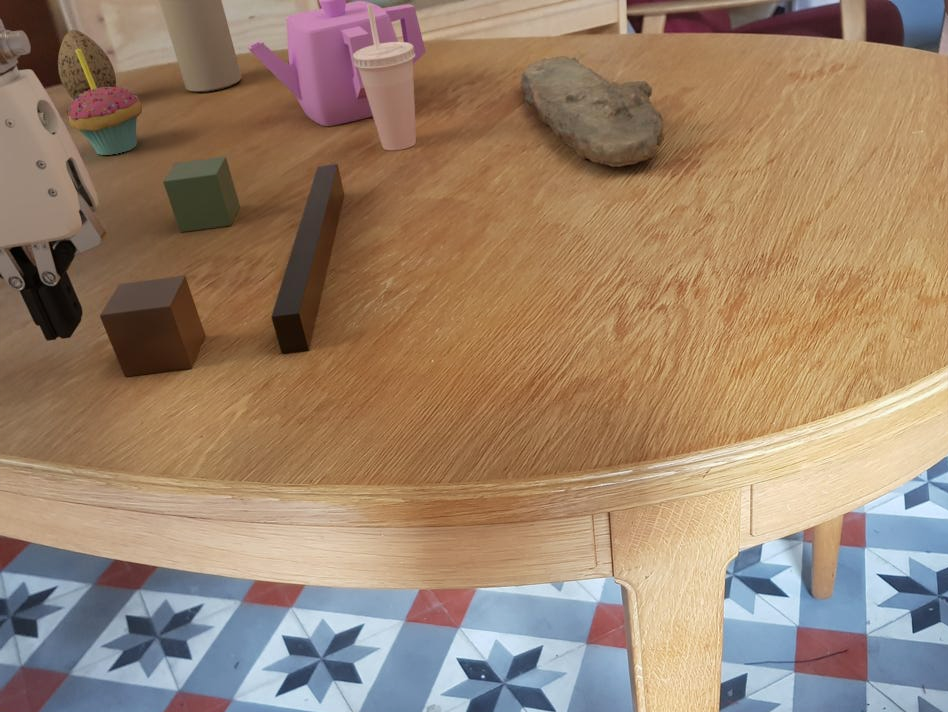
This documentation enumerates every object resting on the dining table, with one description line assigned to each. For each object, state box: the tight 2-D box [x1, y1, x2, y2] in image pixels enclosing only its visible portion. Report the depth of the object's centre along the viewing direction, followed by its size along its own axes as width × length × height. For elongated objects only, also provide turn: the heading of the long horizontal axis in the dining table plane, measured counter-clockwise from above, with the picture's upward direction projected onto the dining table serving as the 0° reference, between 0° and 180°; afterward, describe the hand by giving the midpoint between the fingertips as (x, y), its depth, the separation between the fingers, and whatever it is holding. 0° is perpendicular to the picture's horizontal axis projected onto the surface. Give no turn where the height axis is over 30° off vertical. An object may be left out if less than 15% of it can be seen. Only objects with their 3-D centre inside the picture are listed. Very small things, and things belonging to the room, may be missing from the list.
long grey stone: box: [520, 55, 665, 168], centre depth 100 cm, size 35×5×10 cm
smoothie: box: [353, 3, 417, 151], centre depth 99 cm, size 6×6×14 cm
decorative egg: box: [57, 29, 117, 99], centre depth 130 cm, size 7×7×10 cm
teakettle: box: [247, 0, 427, 127], centre depth 114 cm, size 17×17×12 cm
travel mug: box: [159, 0, 242, 93], centre depth 129 cm, size 8×8×18 cm
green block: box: [162, 156, 241, 233], centre depth 90 cm, size 5×5×5 cm
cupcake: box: [66, 42, 143, 156], centre depth 111 cm, size 9×8×12 cm
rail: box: [270, 163, 345, 355], centre depth 79 cm, size 2×31×3 cm, turn 2°
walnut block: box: [99, 275, 206, 378], centre depth 69 cm, size 5×5×5 cm
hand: (64, 330), depth 68 cm, fingers closed
